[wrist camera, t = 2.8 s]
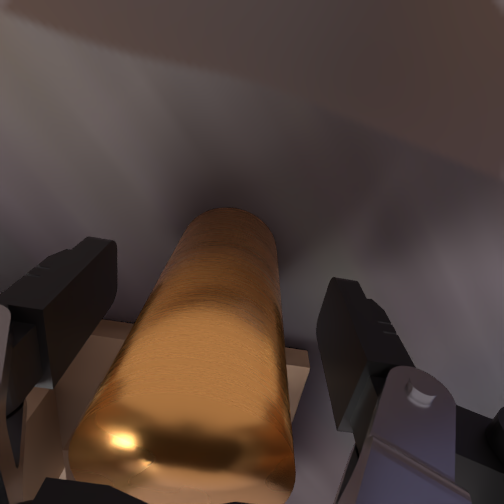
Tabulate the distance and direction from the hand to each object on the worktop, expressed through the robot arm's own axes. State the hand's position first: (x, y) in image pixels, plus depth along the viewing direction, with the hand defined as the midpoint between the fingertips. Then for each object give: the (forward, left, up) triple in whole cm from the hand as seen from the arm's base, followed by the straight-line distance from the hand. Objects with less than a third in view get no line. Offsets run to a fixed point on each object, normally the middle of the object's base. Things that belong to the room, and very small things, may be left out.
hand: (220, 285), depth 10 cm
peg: (0, 0, -2) cm, 2 cm away
